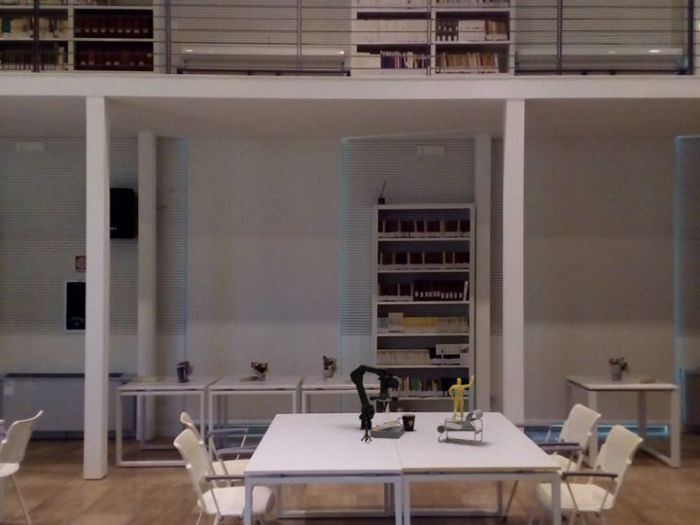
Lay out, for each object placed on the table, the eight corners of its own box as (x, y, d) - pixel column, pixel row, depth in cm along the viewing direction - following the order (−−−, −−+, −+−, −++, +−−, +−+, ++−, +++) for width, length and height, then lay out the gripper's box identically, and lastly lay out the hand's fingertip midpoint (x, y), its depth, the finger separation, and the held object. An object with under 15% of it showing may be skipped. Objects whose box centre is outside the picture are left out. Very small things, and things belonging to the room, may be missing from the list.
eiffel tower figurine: (360, 439, 498) (360, 417, 498) (376, 439, 496) (376, 418, 496) (355, 443, 483) (355, 421, 483) (371, 444, 481) (371, 422, 481)
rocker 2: (381, 427, 508) (380, 425, 508) (382, 426, 512) (382, 424, 512) (396, 424, 506) (395, 422, 506) (397, 423, 509) (397, 421, 510)
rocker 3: (378, 429, 501) (378, 427, 501) (380, 428, 505) (379, 426, 505) (394, 426, 499) (393, 424, 499) (395, 425, 503) (395, 423, 503)
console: (370, 437, 500) (370, 428, 500) (377, 431, 522) (377, 422, 522) (398, 438, 496) (398, 429, 496) (404, 432, 517) (404, 423, 517)
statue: (472, 426, 541) (471, 373, 542) (477, 431, 521) (477, 376, 522) (442, 426, 540) (441, 373, 541) (446, 431, 521) (446, 376, 522)
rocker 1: (383, 425, 515) (382, 423, 515) (384, 424, 518) (384, 422, 519) (398, 422, 512) (397, 420, 512) (399, 421, 516) (399, 419, 516)
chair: (476, 446, 474) (476, 412, 475) (436, 442, 486) (436, 409, 486) (483, 442, 486) (483, 409, 487) (444, 438, 498) (444, 406, 498)
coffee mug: (415, 429, 528) (415, 414, 528) (415, 431, 519) (415, 416, 519) (397, 429, 529) (397, 413, 529) (397, 431, 520) (397, 416, 521)
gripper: (367, 388, 514) (367, 413, 514) (396, 389, 510) (396, 414, 510) (371, 386, 525) (371, 410, 525) (399, 387, 521) (399, 411, 520)
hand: (384, 411), depth 520 cm, fingers closed
